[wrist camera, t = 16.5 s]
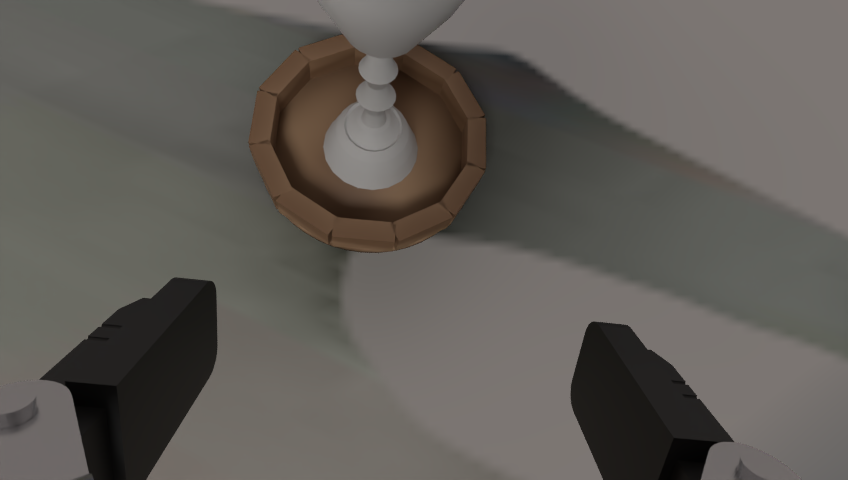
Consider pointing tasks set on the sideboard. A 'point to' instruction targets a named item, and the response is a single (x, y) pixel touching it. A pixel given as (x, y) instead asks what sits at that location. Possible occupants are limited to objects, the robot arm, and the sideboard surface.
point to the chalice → (378, 88)
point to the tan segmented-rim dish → (341, 202)
